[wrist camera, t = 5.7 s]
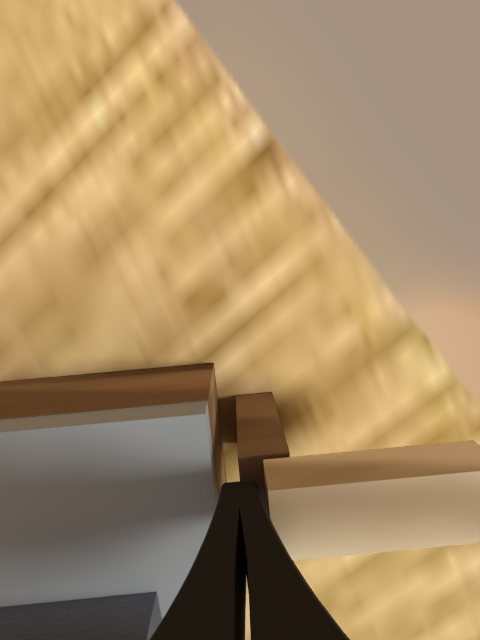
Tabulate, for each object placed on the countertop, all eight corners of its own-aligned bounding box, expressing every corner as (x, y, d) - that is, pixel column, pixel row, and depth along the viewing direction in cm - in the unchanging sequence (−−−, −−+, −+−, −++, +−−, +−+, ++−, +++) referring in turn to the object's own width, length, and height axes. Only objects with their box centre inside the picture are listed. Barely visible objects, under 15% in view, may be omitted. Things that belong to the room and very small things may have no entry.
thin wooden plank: (465, 505, 12) (498, 541, 11) (268, 524, 12) (273, 562, 10) (472, 440, 11) (508, 468, 10) (263, 459, 11) (268, 490, 10)
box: (282, 563, 19) (300, 669, 14) (16, 589, 19) (-58, 706, 14) (269, 357, 16) (287, 405, 11) (-52, 386, 16) (-177, 447, 11)
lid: (236, 649, 15) (239, 836, 10) (-40, 677, 15) (-169, 881, 10) (207, 400, 12) (191, 502, 7) (-145, 432, 12) (-406, 559, 7)
